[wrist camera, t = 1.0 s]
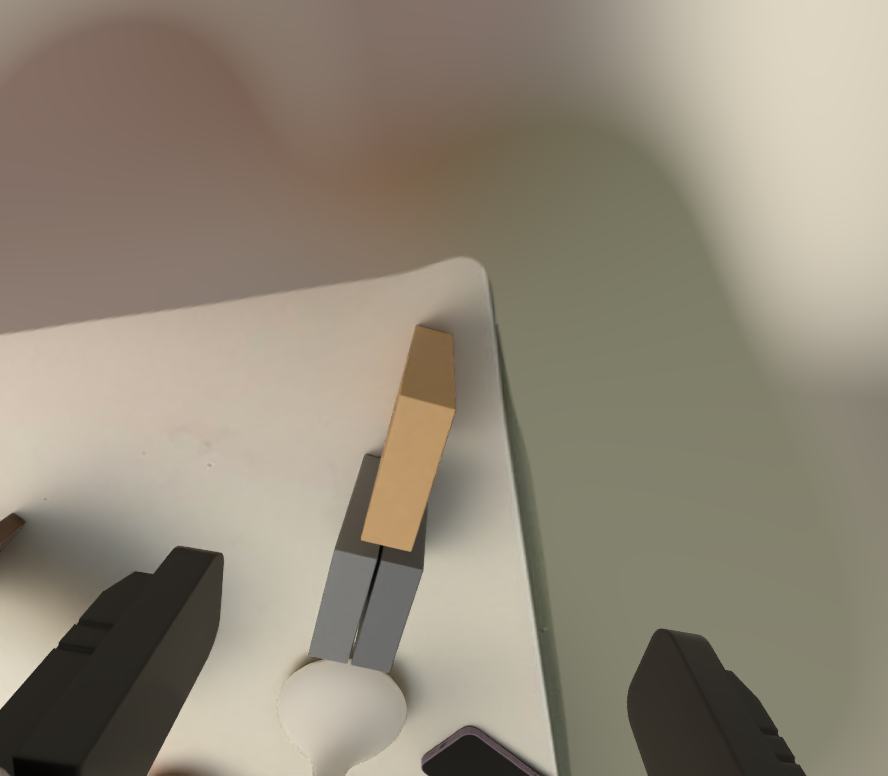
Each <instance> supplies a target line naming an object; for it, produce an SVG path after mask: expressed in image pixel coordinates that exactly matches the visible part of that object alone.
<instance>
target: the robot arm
mask: <svg viewBox="0 0 888 776" xmlns="http://www.w3.org/2000/svg"><path fill="white" fill-rule="evenodd" d="M223 567H224V557H223V554H222V553H220V552H214V551H208V550H202V549H196V548H190V547H184V546H177V547H175V548H174V549H173V550H172V551H171V552H170V554H169V555H168V556H167V557H166V559H165V560H164V561H163V563H162V564H161V565H160V566H159V568H158V569H157V570H156V572H155V573H154V574H148V573H142V572H136V571H135V572H133V573H132V574H130V575H129V576H127V577H126V578H124V579H122V580H121V581H119V582H118V583H116V584H114V585H113V586H111V587H110V588H108V589H107V590H105V591H103V592H102V593H101V595H100V596H99V597H98V598H97V599H96V600H95V602H94V603H93V604H92V605H91V606H90V607H89V608H88V610H87V611H86V612H85V613H84V614H83V615H82V616H81V618H80V619H79V622H78V624H77V625H75V624H74V626H73V627H72V628H71V629H70V630H69V631H68V633H67V634H66V635H65V636H64V637H63V638H62V639H61V641H60V642H59V645H58V647H57V648H56V649H55V648H54V649H53V650H52V651H51V652H50V653H49V654H48V656H47V657H46V658H45V659H44V660H43V661H42V662H41V664H40V665H39V666H38V667H37V668H36V669H35V670H34V672H33V673H32V674H31V675H30V676H29V677H28V678H27V680H26V681H25V682H24V683H23V684H22V685H21V687H20V688H19V689H18V690H17V691H16V692H15V693H14V695H13V696H12V697H11V698H10V699H9V700H8V701H7V703H6V704H5V705H4V706H3V707H2V708H1V710H0V776H147V774H148V772H149V770H150V768H151V766H152V764H153V762H154V760H155V759H156V757H157V755H158V753H159V751H160V749H161V747H162V745H163V743H164V741H165V739H166V737H167V735H168V733H169V732H170V730H171V728H172V726H173V724H174V722H175V720H176V718H177V716H178V714H179V712H180V710H181V708H182V706H183V704H184V703H185V701H186V699H187V697H188V695H189V693H190V691H191V689H192V687H193V685H194V683H195V681H196V679H197V677H198V676H199V674H200V672H201V670H202V668H203V666H204V664H205V662H206V660H207V658H208V656H209V654H210V652H211V649H212V647H213V644H214V641H215V638H216V634H217V631H218V626H219V621H220V610H221V596H222V581H223ZM627 710H628V717H629V722H630V725H631V728H632V731H633V734H634V737H635V740H636V742H637V746H638V749H639V751H640V754H641V757H642V760H643V763H644V766H645V768H646V771H647V774H648V776H806V775H805V773H804V771H803V770H802V768H801V767H800V765H797V764H796V763H795V757H794V755H793V754H792V752H791V750H790V749H789V747H788V746H787V744H786V742H785V741H784V739H783V738H782V737H779V735H778V730H777V728H776V726H775V725H774V723H773V721H772V720H771V718H770V717H769V715H768V714H767V712H766V710H765V709H764V707H763V706H762V704H761V702H760V701H759V699H758V698H757V697H756V696H755V695H754V694H753V693H752V692H751V691H750V690H749V689H748V688H747V687H746V686H745V685H744V684H743V682H742V681H740V680H739V678H738V677H737V676H736V675H735V674H734V673H733V672H732V671H728V670H725V669H724V667H723V665H722V664H721V662H720V660H719V659H718V657H717V655H716V653H715V652H714V650H713V648H712V647H711V645H710V644H709V642H708V641H707V640H706V639H705V638H704V637H703V636H701V635H697V634H691V633H685V632H679V631H673V630H667V629H658V630H657V631H656V632H655V633H654V634H653V636H652V638H651V640H650V642H649V644H648V647H647V649H646V651H645V653H644V656H643V658H642V660H641V662H640V664H639V666H638V668H637V671H636V673H635V675H634V677H633V679H632V682H631V684H630V687H629V690H628V696H627Z"/></svg>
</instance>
